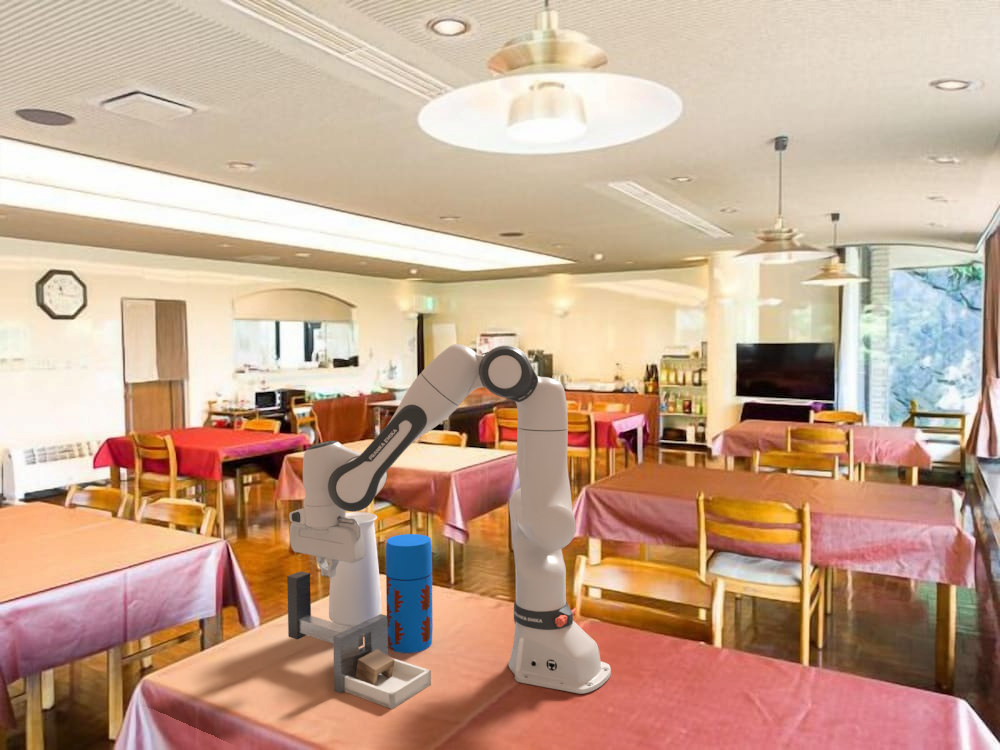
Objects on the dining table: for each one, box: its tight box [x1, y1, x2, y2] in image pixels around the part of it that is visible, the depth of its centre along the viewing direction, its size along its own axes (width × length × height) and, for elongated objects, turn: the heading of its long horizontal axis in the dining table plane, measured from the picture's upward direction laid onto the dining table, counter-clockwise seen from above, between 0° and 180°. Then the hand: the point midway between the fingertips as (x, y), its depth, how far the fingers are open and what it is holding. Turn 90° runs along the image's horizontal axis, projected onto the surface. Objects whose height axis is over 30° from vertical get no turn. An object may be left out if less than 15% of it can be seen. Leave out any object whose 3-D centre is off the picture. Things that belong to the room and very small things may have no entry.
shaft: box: [286, 570, 364, 648], centre depth 156 cm, size 20×4×14 cm, turn 56°
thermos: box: [385, 533, 434, 654], centre depth 167 cm, size 11×11×25 cm
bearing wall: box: [333, 613, 389, 694], centre depth 150 cm, size 2×14×12 cm, turn 147°
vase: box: [328, 511, 382, 628], centre depth 177 cm, size 13×13×28 cm
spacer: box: [355, 649, 396, 686], centre depth 148 cm, size 5×6×4 cm
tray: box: [344, 657, 432, 710], centre depth 146 cm, size 13×12×3 cm
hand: (328, 576), depth 157 cm, fingers closed
